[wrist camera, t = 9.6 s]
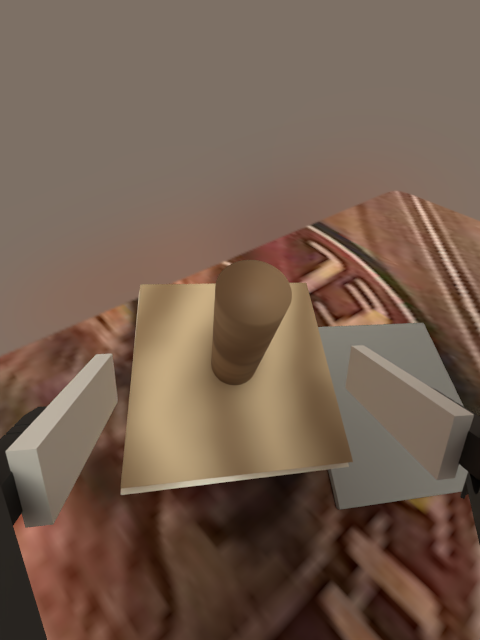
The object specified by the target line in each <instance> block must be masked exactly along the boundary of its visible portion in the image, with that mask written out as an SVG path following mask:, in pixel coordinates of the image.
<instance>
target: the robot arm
mask: <svg viewBox="0 0 480 640" xmlns="http://www.w3.org/2000/svg"><path fill="white" fill-rule="evenodd" d="M345 388H346V389H347V390H348V391H349V392H350V393H351V394H352V395H353V396H354V397H355V398H356V399H357V400H358V401H359V402H360V403H361V404H362V405H363V406H364V407H365V408H366V409H367V410H368V411H369V412H370V413H371V414H372V415H373V416H374V417H375V418H376V419H377V420H378V421H379V422H380V423H381V424H382V425H383V426H384V427H385V428H386V430H387V431H388V432H389V433H390V434H391V435H392V436H393V437H394V438H395V439H396V440H397V441H398V442H399V443H400V444H401V445H402V446H403V447H404V448H405V449H406V450H407V451H408V452H409V453H410V454H411V455H412V456H413V457H414V458H415V459H416V460H417V461H418V462H419V463H420V464H421V465H422V466H423V467H424V468H425V469H426V470H427V471H428V472H429V473H430V474H431V475H432V476H433V477H434V478H435V479H436V480H443V479H451V478H455V476H456V473H457V470H458V466H459V464H460V465H461V466H462V467H463V468H464V469H466V470H467V471H468V473H467V477H466V480H465V483H464V486H463V489H462V492H461V498H463V499H465V495H467V494H469V498H470V503H471V507H472V512H473V516H474V521H475V526H476V530H477V535H478V539H479V544H480V416H478V415H476V414H475V413H473V412H471V411H470V410H468V409H467V408H465V407H463V406H462V405H460V404H459V403H457V402H456V403H455V401H454V400H452V399H451V398H449V397H446V395H444V394H443V393H441V392H439V391H438V390H436V389H434V388H432V387H429V386H428V385H426V384H424V383H423V382H421V381H420V380H418V379H416V378H415V377H413V376H412V375H410V374H409V373H407V372H405V371H404V370H402V369H401V368H399V367H397V366H396V365H394V364H393V363H391V362H389V361H388V360H386V359H385V358H383V357H381V356H380V355H378V354H377V353H375V352H373V351H372V350H370V349H369V348H367V347H366V346H364V345H357V346H351V352H350V359H349V365H348V372H347V379H346V386H345ZM117 402H118V398H117V390H116V381H115V373H114V364H113V356H112V354H96V355H95V356H94V357H93V358H92V359H91V361H90V362H89V363H88V364H87V365H86V366H85V367H84V368H83V369H82V370H81V371H80V372H79V373H78V374H77V375H76V377H75V378H74V379H73V380H72V381H71V382H70V383H69V384H68V385H67V386H66V387H65V388H64V389H63V390H62V391H61V393H60V394H59V395H58V396H57V397H56V398H55V399H54V400H53V401H52V402H51V403H50V404H49V405H48V406H47V407H38V408H36V409H34V410H33V411H31V412H29V413H28V414H26V415H24V416H23V417H22V418H21V419H20V420H19V421H18V422H17V423H16V424H15V426H14V427H12V428H11V429H10V430H9V431H8V432H7V433H6V435H4V436H3V437H2V438H1V439H0V640H47V638H46V634H45V631H44V628H43V624H42V621H41V618H40V614H39V611H38V608H37V604H36V601H35V598H34V594H33V591H32V588H31V584H30V581H29V578H28V575H27V571H26V568H25V565H24V561H23V558H22V555H21V551H20V548H19V545H18V541H17V538H16V535H15V531H14V528H13V525H14V523H15V522H16V520H17V519H18V517H19V516H20V514H21V513H22V516H23V520H24V524H25V528H26V527H35V526H43V525H52V524H54V522H55V520H56V518H57V516H58V515H59V513H60V511H61V509H62V507H63V505H64V503H65V501H66V499H67V497H68V495H69V494H70V492H71V490H72V488H73V486H74V484H75V482H76V480H77V478H78V476H79V474H80V473H81V471H82V469H83V467H84V465H85V463H86V461H87V459H88V457H89V455H90V453H91V452H92V450H93V448H94V446H95V444H96V442H97V440H98V438H99V436H100V434H101V432H102V431H103V429H104V427H105V425H106V423H107V421H108V419H109V417H110V415H111V413H112V411H113V410H114V408H115V406H116V404H117Z"/></svg>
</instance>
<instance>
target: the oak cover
mask: <svg viewBox="0 0 480 640" xmlns="http://www.w3.org/2000/svg"><path fill="white" fill-rule="evenodd" d="M349 462H353V460H352V456H351V452H350V448H349V444H348V440H347V437H346V433H345V429H344V425H343V421H342V418H341V414H340V410H339V406H338V402H337V398H336V395H335V391H334V387H333V383H332V379H331V375H330V372H329V368H328V364H327V360H326V356H325V353H324V349H323V345H322V341H321V337H320V333H319V330H318V326H317V322H316V318H315V314H314V311H313V307H312V303H311V299H310V295H309V291H308V288H307V284H306V283H289V282H288V280H287V278H286V277H285V276H284V275H283V274H282V273H281V272H280V271H279V270H278V269H277V268H275V267H274V266H272V265H270V264H268V263H265V262H261V261H257V260H243V261H238V262H235V263H233V264H231V265H229V266H227V267H226V268H225V269H224V270H223V271H222V272H221V273H220V274H219V276H218V278H217V281H216V284H155V285H154V284H153V285H152V284H148V285H141V286H140V295H139V305H138V315H137V326H136V336H135V346H134V356H133V366H132V376H131V387H130V397H129V407H128V417H127V427H126V437H125V448H124V458H123V468H122V478H121V488H120V489H122V488H131V487H140V486H148V485H157V484H166V483H174V482H183V481H192V480H201V479H209V478H218V477H227V476H235V475H244V474H253V473H261V472H270V471H279V470H288V469H296V468H305V467H314V466H322V465H331V464H340V463H349Z"/></svg>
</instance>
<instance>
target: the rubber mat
mask: <svg viewBox="0 0 480 640" xmlns="http://www.w3.org/2000/svg"><path fill="white" fill-rule="evenodd" d="M318 330H319V333H320V337H321V341H322V345H323V349H324V353H325V356H326V360H327V364H328V368H329V372H330V375H331V379H332V383H333V387H334V391H335V395H336V398H337V402H338V406H339V410H340V414H341V418H342V421H343V425H344V429H345V433H346V437H347V440H348V444H349V448H350V452H351V456H352V460H353V462H349V463H348V464H349V467H343V468H335V469H328V472H329V476H330V480H331V485H332V489H333V494H334V498H335V503H336V507H337V509H347V508H354V507H361V506H367V505H374V504H381V503H388V502H394V501H401V500H408V499H414V498H421V497H428V496H435V495H441V494H448V493H455V492H461V491H462V489H463V486H464V483H465V480H466V477H467V473H468V471H467V470H466V469H464V468H463V467H462V466H461V465H460V464H459V466H458V470H457V473H456V476H455V478H451V479H443V480H436V479H435V478H434V477H433V476H432V475H431V474H430V473H429V472H428V471H427V470H426V469H425V468H424V467H423V466H422V465H421V464H420V463H419V462H418V461H417V460H416V459H415V458H414V457H413V456H412V455H411V454H410V453H409V452H408V451H407V450H406V449H405V448H404V447H403V446H402V445H401V444H400V443H399V442H398V441H397V440H396V439H395V438H394V437H393V436H392V435H391V434H390V433H389V432H388V431H387V430H386V428H385V427H384V426H383V425H382V424H381V423H380V422H379V421H378V420H377V419H376V418H375V417H374V416H373V415H372V414H371V413H370V412H369V411H368V410H367V409H366V408H365V407H364V406H363V405H362V404H361V403H360V402H359V401H358V400H357V399H356V398H355V397H354V396H353V395H352V394H351V393H350V392H349V391H348V390H347V389H346V388H345V386H346V379H347V372H348V365H349V359H350V352H351V346H357V345H364V346H366V347H367V348H369V349H370V350H372V351H373V352H375V353H377V354H378V355H380V356H381V357H383V358H385V359H386V360H388V361H389V362H391V363H393V364H394V365H396V366H397V367H399V368H401V369H402V370H404V371H405V372H407V373H409V374H410V375H412V376H413V377H415V378H416V379H418V380H420V381H421V382H423V383H424V384H426V385H428V386H429V387H432V388H434V389H436V390H438V391H439V392H441V393H443V394H444V395H446V397H449V398H451V399H452V400H454V401H455V403H456V402H457V403H459V404H460V405H462V406H463V404H462V402H461V400H460V398H459V396H458V394H457V392H456V390H455V388H454V385H453V383H452V381H451V379H450V377H449V375H448V373H447V371H446V369H445V367H444V365H443V363H442V361H441V358H440V356H439V354H438V352H437V350H436V348H435V346H434V344H433V342H432V340H431V338H430V336H429V333H428V331H427V329H426V327H425V325H424V323H408V324H383V325H359V326H335V327H318ZM463 407H464V406H463Z"/></svg>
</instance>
